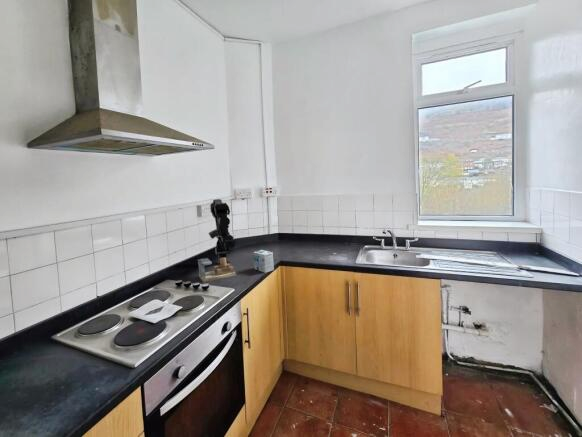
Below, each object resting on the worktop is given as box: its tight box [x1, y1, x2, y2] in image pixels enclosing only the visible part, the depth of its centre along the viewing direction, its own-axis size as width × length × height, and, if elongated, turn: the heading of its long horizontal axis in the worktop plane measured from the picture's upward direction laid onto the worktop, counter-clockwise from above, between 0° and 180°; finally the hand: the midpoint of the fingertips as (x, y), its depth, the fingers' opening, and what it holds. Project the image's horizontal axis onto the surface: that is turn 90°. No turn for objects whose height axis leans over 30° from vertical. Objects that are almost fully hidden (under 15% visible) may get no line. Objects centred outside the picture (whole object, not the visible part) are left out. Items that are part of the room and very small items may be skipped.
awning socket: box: [197, 257, 237, 283], centre depth 158 cm, size 12×18×10 cm, turn 119°
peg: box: [219, 257, 228, 269], centre depth 160 cm, size 4×4×8 cm
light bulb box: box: [253, 249, 275, 274], centre depth 164 cm, size 11×7×11 cm, turn 44°
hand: (225, 249), depth 168 cm, fingers open, 9 cm apart
